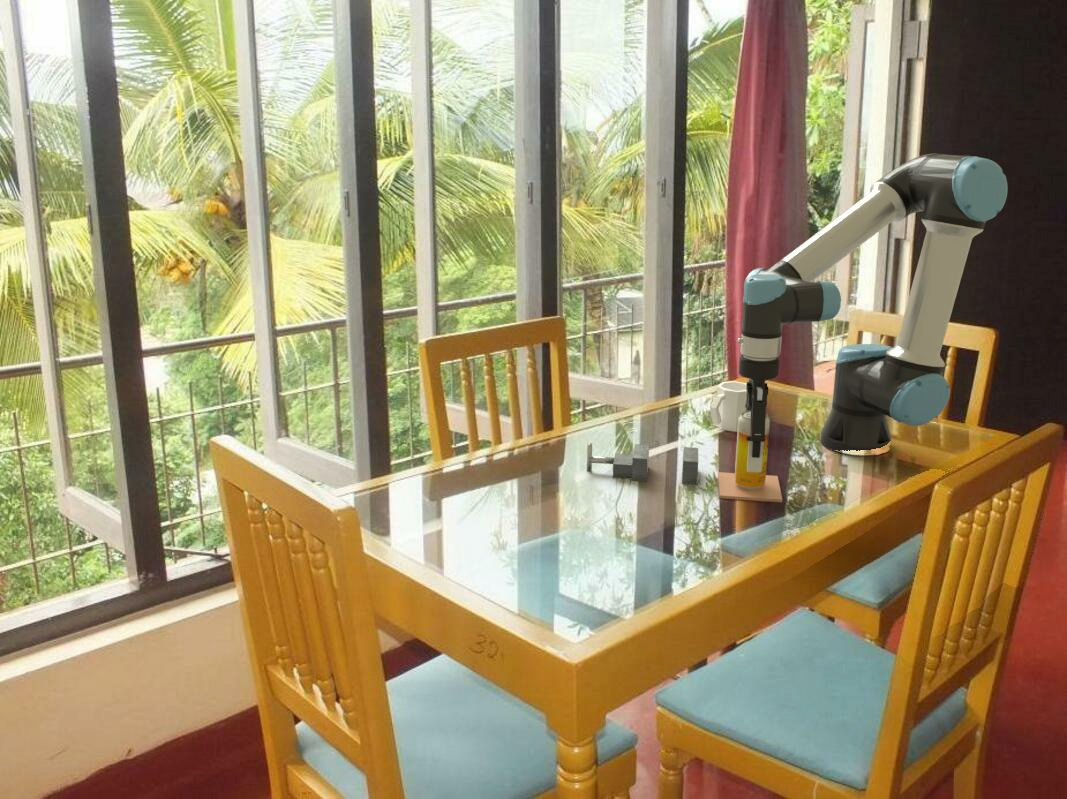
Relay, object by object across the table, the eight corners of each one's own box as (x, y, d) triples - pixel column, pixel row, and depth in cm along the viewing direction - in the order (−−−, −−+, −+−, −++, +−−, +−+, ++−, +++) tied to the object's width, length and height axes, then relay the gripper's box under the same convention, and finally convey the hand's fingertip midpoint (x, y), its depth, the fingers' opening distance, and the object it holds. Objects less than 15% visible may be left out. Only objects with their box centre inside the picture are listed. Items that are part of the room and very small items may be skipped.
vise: (696, 469, 199) (698, 443, 198) (696, 484, 192) (698, 457, 190) (588, 463, 203) (589, 437, 201) (584, 477, 195) (585, 450, 194)
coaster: (777, 478, 195) (777, 475, 195) (782, 502, 184) (782, 499, 184) (718, 474, 197) (718, 472, 197) (719, 498, 186) (719, 495, 186)
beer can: (765, 492, 187) (771, 420, 182) (734, 489, 188) (738, 418, 183) (764, 480, 193) (769, 410, 188) (733, 478, 194) (738, 409, 189)
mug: (729, 417, 231) (732, 379, 228) (758, 426, 225) (761, 387, 222) (697, 428, 224) (699, 388, 221) (726, 438, 218) (729, 397, 215)
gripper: (737, 338, 194) (730, 435, 201) (742, 373, 171) (735, 481, 177) (774, 340, 193) (766, 437, 200) (785, 375, 169) (776, 484, 176)
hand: (751, 458), depth 188 cm, fingers open, 13 cm apart
